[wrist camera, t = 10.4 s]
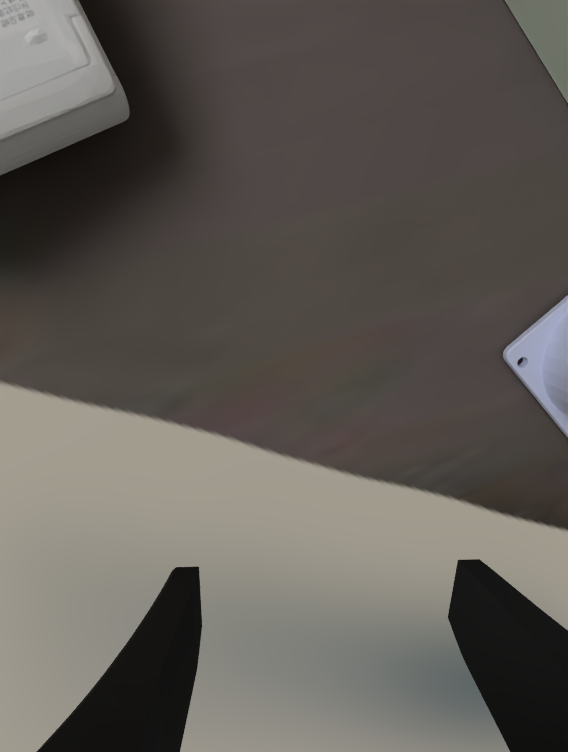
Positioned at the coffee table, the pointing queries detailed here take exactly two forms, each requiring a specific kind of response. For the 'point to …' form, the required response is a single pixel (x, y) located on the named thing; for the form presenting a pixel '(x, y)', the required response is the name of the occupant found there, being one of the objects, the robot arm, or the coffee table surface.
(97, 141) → the coffee table surface
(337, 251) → the coffee table surface
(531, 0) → the socket
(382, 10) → the coffee table surface
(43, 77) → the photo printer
